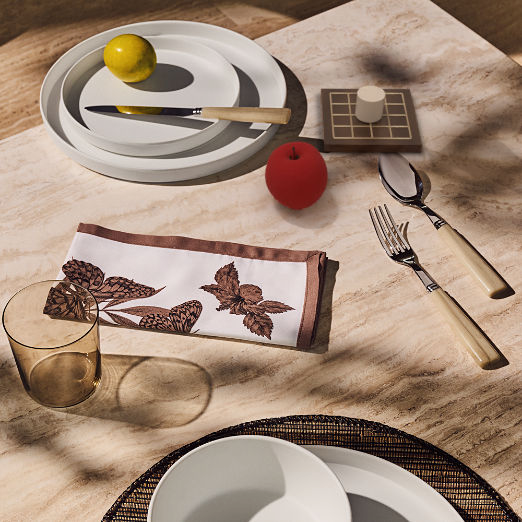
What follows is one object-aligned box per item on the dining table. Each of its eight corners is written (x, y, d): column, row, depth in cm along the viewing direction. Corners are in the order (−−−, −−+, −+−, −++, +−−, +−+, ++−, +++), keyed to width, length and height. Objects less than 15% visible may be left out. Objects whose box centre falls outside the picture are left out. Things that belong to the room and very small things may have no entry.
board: (408, 96, 116) (410, 88, 115) (420, 152, 106) (422, 144, 105) (320, 95, 116) (320, 87, 115) (323, 152, 106) (324, 143, 105)
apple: (337, 210, 97) (342, 155, 90) (278, 226, 95) (279, 172, 88) (311, 171, 103) (314, 116, 96) (255, 185, 101) (254, 131, 94)
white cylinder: (380, 106, 111) (383, 85, 108) (383, 122, 108) (386, 101, 105) (353, 106, 111) (356, 85, 108) (355, 122, 108) (358, 101, 105)
